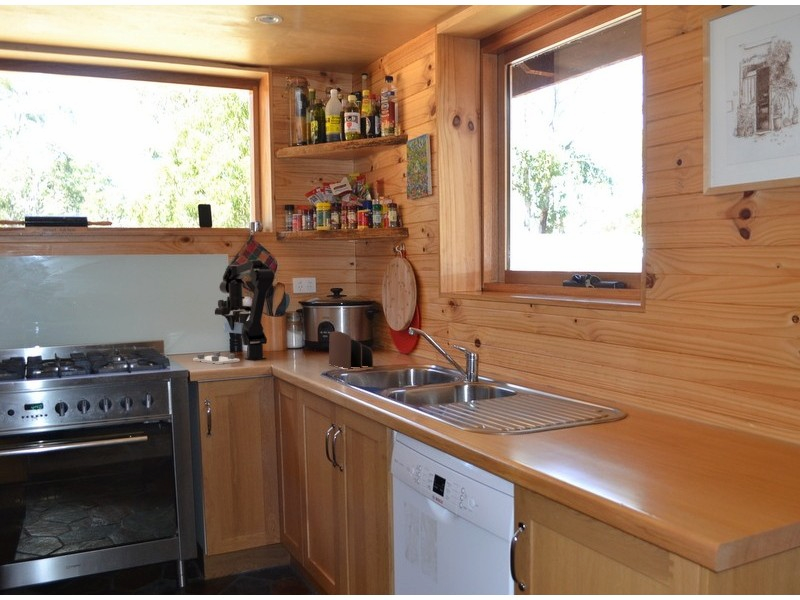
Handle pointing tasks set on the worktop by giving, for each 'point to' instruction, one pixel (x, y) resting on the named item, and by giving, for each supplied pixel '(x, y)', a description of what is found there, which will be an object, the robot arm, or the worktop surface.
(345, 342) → the letter holder
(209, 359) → the cradle
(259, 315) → the robot arm
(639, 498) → the worktop surface
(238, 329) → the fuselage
